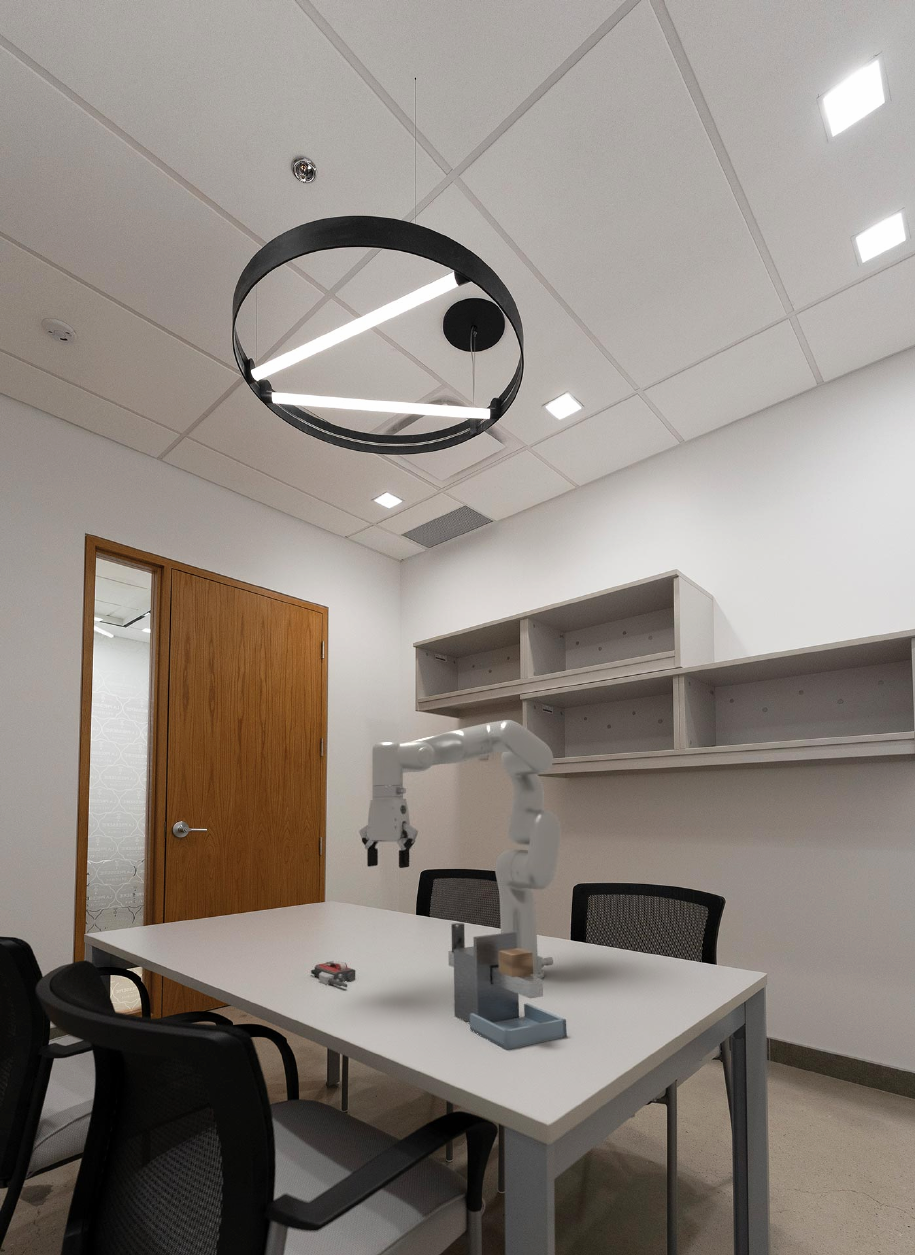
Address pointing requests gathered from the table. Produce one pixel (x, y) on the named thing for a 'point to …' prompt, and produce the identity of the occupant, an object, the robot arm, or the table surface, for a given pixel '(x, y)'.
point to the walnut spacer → (515, 962)
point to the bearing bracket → (483, 980)
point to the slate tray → (521, 1028)
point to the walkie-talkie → (334, 973)
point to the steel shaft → (520, 984)
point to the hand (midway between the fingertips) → (388, 866)
